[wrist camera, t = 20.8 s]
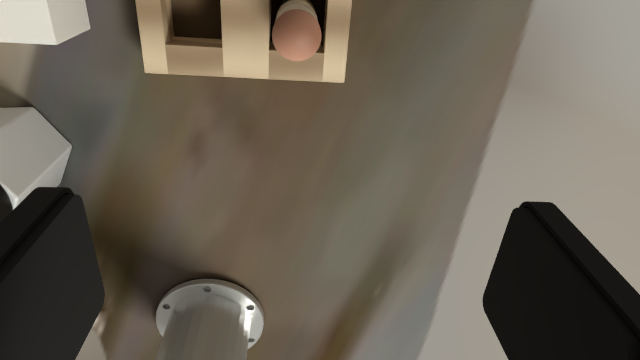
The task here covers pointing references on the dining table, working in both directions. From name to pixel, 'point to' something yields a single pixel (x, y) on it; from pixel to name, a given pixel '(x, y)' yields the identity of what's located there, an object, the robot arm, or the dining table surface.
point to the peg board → (241, 44)
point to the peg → (296, 30)
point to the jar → (28, 155)
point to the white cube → (42, 20)
